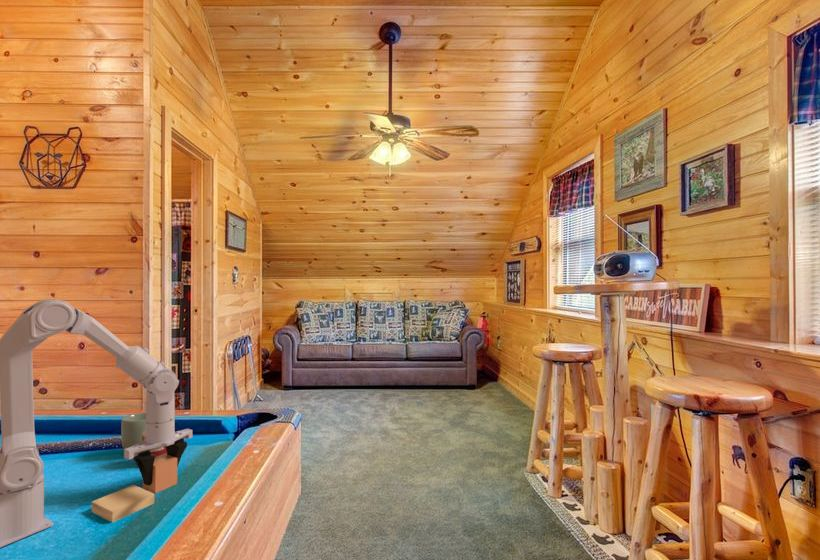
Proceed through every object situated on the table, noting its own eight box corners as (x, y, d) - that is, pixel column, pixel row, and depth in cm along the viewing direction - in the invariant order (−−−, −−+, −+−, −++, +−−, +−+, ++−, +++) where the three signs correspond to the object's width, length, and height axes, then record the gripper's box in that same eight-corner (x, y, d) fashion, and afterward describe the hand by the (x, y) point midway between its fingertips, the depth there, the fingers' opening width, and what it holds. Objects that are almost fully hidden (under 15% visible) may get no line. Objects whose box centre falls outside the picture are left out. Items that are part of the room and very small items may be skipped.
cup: (114, 456, 110) (114, 419, 110) (141, 445, 118) (141, 411, 118) (136, 460, 108) (136, 422, 108) (162, 448, 116) (162, 413, 116)
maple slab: (112, 524, 80) (112, 512, 80) (91, 513, 84) (91, 501, 84) (154, 505, 87) (154, 493, 87) (133, 496, 91) (133, 484, 91)
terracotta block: (155, 493, 91) (155, 466, 91) (142, 487, 93) (142, 461, 94) (177, 483, 96) (177, 457, 96) (164, 478, 98) (164, 453, 98)
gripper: (136, 433, 86) (136, 497, 86) (200, 413, 99) (200, 469, 99) (118, 427, 90) (118, 489, 90) (182, 409, 102) (182, 463, 102)
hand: (160, 478), depth 95 cm, fingers closed on terracotta block, 5 cm apart
